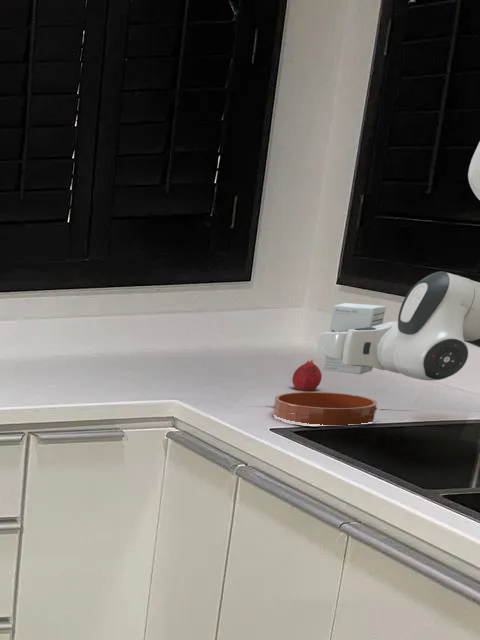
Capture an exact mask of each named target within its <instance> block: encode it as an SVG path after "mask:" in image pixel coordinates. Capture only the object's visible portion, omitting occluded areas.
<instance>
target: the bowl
mask: <svg viewBox="0 0 480 640" xmlns="http://www.w3.org/2000/svg"><path fill="white" fill-rule="evenodd" d="M272 408H273V409H272V415H273V414H274V415H276V416H277V417H280V418H283V419H286V420H290V421H295V422H301V423H307V424H308V423H309V424H320V425H322V424H323V425H348V424H361V423H368V422H373V421H374V422H375V420H376V414H377V409H378V402H377V400H375V399H373V398H370V397H366V396H363V395H358V394H352V393H351V394H350V393H343V392H342V393H341V392H329V391H327V392H326V391H296V392H287V393H282V394H278V395H276V396H275V397H274V400H273V407H272Z"/></svg>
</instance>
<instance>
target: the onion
mask: <svg viewBox="0 0 480 640" xmlns="http://www.w3.org/2000/svg"><path fill="white" fill-rule="evenodd" d="M313 361H314V360H313V359H312V358H308V359H307V361H306V362H305V363H303V364H301V365H300V366H299V367H297V368H296V370H294V372H293V375H292V378H291V379H292V381H291V382H292V385H293V386H294V388H295V389H296V390H298V391H301V392H313V391H314V390H315V389H317V388H318V387H319V386H320V384H321V382H322V378H323V377H322V376H323V375H322V370H320V367H318V365H316V364H315V363H314V362H313Z"/></svg>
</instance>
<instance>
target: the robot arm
mask: <svg viewBox="0 0 480 640" xmlns="http://www.w3.org/2000/svg"><path fill="white" fill-rule="evenodd" d="M467 180H468V184H469V187H470V188H471V191H472V192H473V194H474V195H475V197H476V198H477V199H478V200H479V201H480V141H479V142H478V144H477V146H476V149H475V150H474V152H473V155H472V157H471V160H470V164H469V166H468V172H467ZM317 339H318V340H317V348H316V349H317V351H318V353H319V354H322V355H326V356H329V357H331V358H335V359H339V360H343V364H345V365H352V366H364V367H373V369H378V370H381V371H388V372H391V373H395V374H401V375H403V376H405V377H408V378H411V379H415V380H420V381H441V380H444V379H445V380H446V379H448V378H450V377H452V376H454V375H456V374H457V373H458V372H460V370H462V369H463V367H464V366H465V365H466V363H467V361H468V358H469V347H468V345H467V343H468V344H469V345H472V346H475V347H477V348H480V282H479V281H475V280H472V279H470V278H467V277H464V276H461V275H458V274H453V273H450V272H446V271H444V270H443V271H442V270H441V271H436V272H433V273H430V274H429V275H426V276H425V277H423V278H421V279H420V280H419V281H418V282H416V283H415V284H414V285H412V287H410V289H409V291H408V292H407V293H406V295H405V297H404V299H403V301H402V303H401V306H400V309H399V311H398V315H397V320H392V321H389V322H385V323H382V324H381V325H377V326H373V327H366V328H357V329H350V330H348V331H343V332H329V331H322V332H320V333H319V336H318V338H317Z"/></svg>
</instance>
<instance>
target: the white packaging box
mask: <svg viewBox="0 0 480 640" xmlns="http://www.w3.org/2000/svg"><path fill="white" fill-rule="evenodd" d="M386 310H387V306H386V305H377V304H365V303H353V302H352V303H350V302H344V303H340V304H335V305H333V310H332V315H331V319H330V325H329V330H328V332H343V331H348V330H350V329H357V328H366V327H373V326H377V325H381V324H384V323H383V322H384V317H385V314H386ZM323 355H324V354H323ZM321 365H322V366H321V371H331V372H338V373H345V374H354V375H364V374H367V373H370V372H372V371H373V369H374V367H364V366H352V365H345V364H343V360H339V359H335V358H331V357H329V356H326V355H324V356H323V361H322V364H321Z"/></svg>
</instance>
